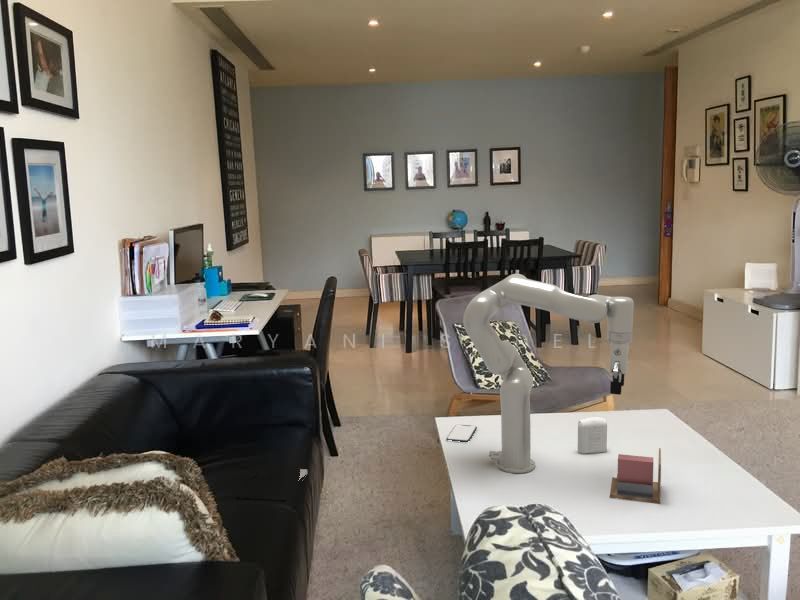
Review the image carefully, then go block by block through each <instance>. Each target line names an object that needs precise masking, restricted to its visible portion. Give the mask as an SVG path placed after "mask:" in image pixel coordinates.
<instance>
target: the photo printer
mask: <svg viewBox="0 0 800 600" xmlns="http://www.w3.org/2000/svg"><path fill="white" fill-rule="evenodd" d="M607 443H608V422H607V420H606V419H605V418H604V417H603V418H602V417H600V416H598V417H597V416H596V417H595V416H592V417H591V416H590V417H586V418H583V419H580V420H579V421H578V422H577V452H578V454H595V453H596V454H597V453H606V452H607V449H608V448H607V447H608V446H607V445H608V444H607Z"/></svg>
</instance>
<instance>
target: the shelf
mask: <svg viewBox="0 0 800 600" xmlns="http://www.w3.org/2000/svg"><path fill="white" fill-rule="evenodd" d="M661 452H662V450H661V448H660V447H659V448H658V470H657V471H658V472H657V474H658V475H657V481H653V499H646V498H637V497H628V496H620V495H617V477H618V473H617V474H616V477H614V476H613V477H611V484H610V489H609V490H610V491H609V498H611V499H616V498H618V499H617V500H625V499H626V500H627V501H633V500H634V502H635V501H636V502H642V503H651V504H659V503H660V504H661V481H662V480H661V479H662V477H661V475H662V454H661Z"/></svg>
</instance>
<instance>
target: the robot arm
mask: <svg viewBox="0 0 800 600" xmlns="http://www.w3.org/2000/svg"><path fill="white" fill-rule="evenodd" d="M512 304H516V305H522V306H524V307H525V306H526V307H530V308H535V309H539V310H543V311H547V312H550V313H552V314H555V315H559V316H561V317H564V318H567V319H571V320H576V321H580V322H584V323H589V324H598V323H600V322H602V321H604V319H607V323H606V324H607V327H606V341H607V342H609V343H610V346H609V347H610V350H609V373H610V374H611V379H610V391H609V393H610V394H611V395H621V394H622V387H624V385H625V376H626V375H627V373H628V371H629V351H630V345H629V344H631V343H632V342H633V329H634V328H633V327H634V324H633V323H634V310H635V307H634V306H635V302H634V300H633V298H631V297H629V296H608V295H604V294H603V295H602V294H591V295H588V296H587V297H585V296H582V295H577V294H573V293H570V292H568V291H566V290H563V289H562V288H560V287H559V286H557V285H555V284H554V283H553V284H552V283H546V282H544V281H543V282H542V281H538V280H533V279H531V278H527V277H526V276H525V275H523V274H520V273H513V274H510V275H508V276H506V277H505V278H504V279H502V280H501V281H499V282H497V283H495V284H494V285H491V286H489V287H488V288H486V289H484V290H483V291H481V292H480V293H478V294H477V295H476V296H473V298H472V299H471V301H470V302H468V305H467V306H466V308H465V309H464V310H465V311H464V313H463V319H462V321H463V327H464V330H465V332H466V334H467V336H468V337H469V339H470V341H471V343H472V344H473V346H474V348H475V350H476V351H477V353H478V355H479V356H480V357H481V360H482V361H483V362H484V365H485V366H486V368H487V370H488V371H489V372H491V374H494V375H497V376H500V377H501V378H502V382H501V385H500V389H499V400H500V401H499V402H500V413H501V414H500V417H501V418H500V420H501V422H500V424H501V427H500V428H501V430H500V431H501V450H499V451H496V450H495V451H494V450H489V451H488V457H489V458H490V459H491V460H497V462H496V465H497V468H498V469H500V470H502V471H503V472H506V473H511V474H523V473H529V472H531V471H534V469H535V468H536V462H535V460H534V459H532V458H531V404H530V403H531V392H532V389H533V386H534V378H533V375H532V373H531V372H530V370H529V368H528V367H527V365H526V363H525V361H524V360H523V359H522V356H521V355H520V353H519V352H518V350H517V348H516V347H515V346H514V345H513V343H512V344H511V343H510V342H509V341H506V340H501V338H500V336H499V334H498V333H497V331H496V330H495V328H494V327H493V326H492V325H491V322H490V319H492V317H493V316H494V315H495V314H497V313H498V312H500V311H502V310H503V309H504V308H506V307H508V306H510V305H512Z"/></svg>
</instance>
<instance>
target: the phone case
mask: <svg viewBox="0 0 800 600" xmlns="http://www.w3.org/2000/svg"><path fill="white" fill-rule="evenodd" d="M476 429H477V430H478V427H477V425H470V424H469V425H468V424H456V425H454V427H453V428H452V430H451V431H450V432H449V434H448V435H447V437H446V440H452V441H460V442H468V441H471V440H472V438H473V437H474V435H475V434H474V433H476V432H477V430H476ZM475 431H476V432H475ZM473 434H474V435H473ZM472 436H473V437H472ZM470 439H471V440H470Z"/></svg>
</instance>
